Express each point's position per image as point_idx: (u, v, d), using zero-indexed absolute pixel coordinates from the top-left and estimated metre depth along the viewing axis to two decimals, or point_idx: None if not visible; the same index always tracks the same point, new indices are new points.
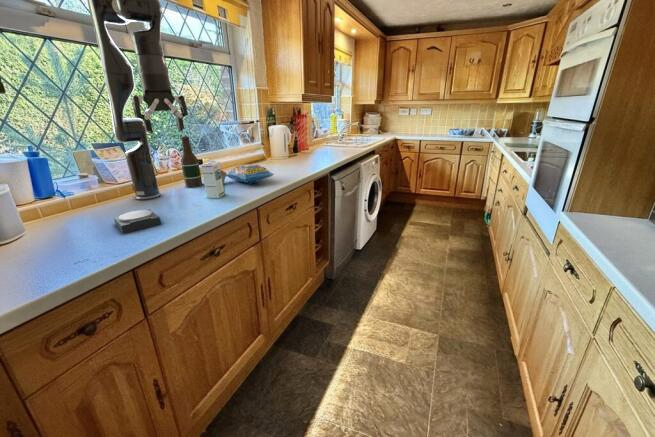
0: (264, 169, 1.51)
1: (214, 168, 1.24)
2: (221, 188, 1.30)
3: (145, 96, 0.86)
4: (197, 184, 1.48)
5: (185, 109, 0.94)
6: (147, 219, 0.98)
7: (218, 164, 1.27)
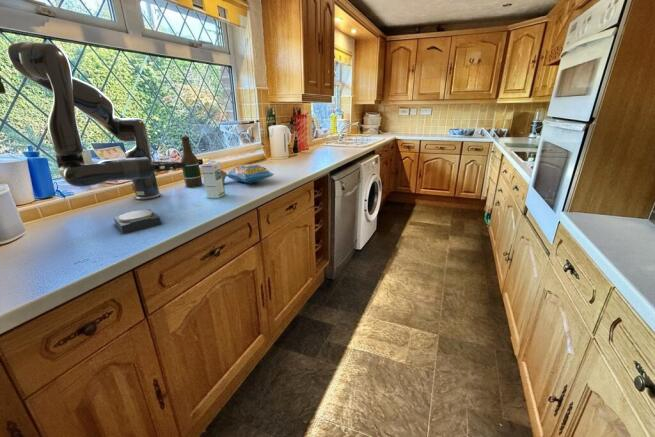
0: (264, 169, 1.51)
1: (214, 168, 1.24)
2: (221, 188, 1.30)
3: None
4: (197, 184, 1.48)
5: (171, 169, 1.10)
6: (147, 219, 0.98)
7: (218, 163, 1.27)
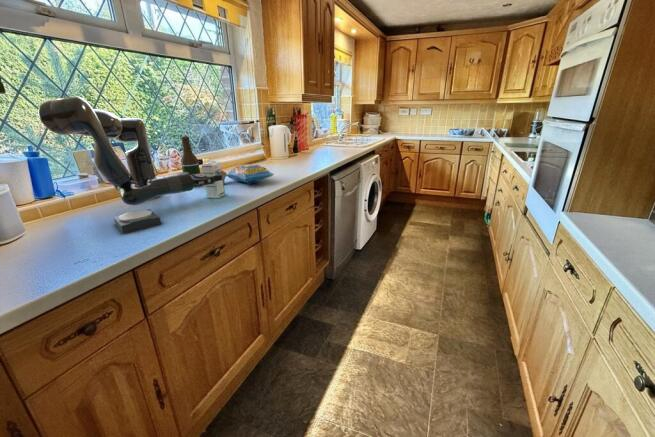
0: (264, 169, 1.51)
1: (214, 168, 1.24)
2: (221, 188, 1.30)
3: None
4: None
5: None
6: (147, 219, 0.98)
7: (219, 164, 1.27)
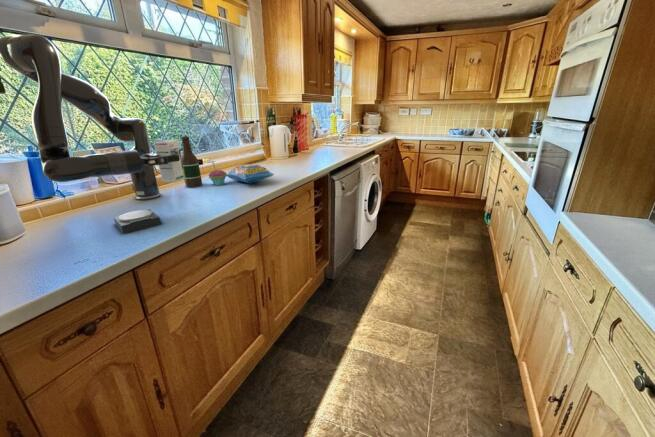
0: (264, 169, 1.51)
1: (169, 146, 1.05)
2: (179, 171, 1.10)
3: None
4: (197, 184, 1.48)
5: None
6: (147, 219, 0.98)
7: (176, 142, 1.08)
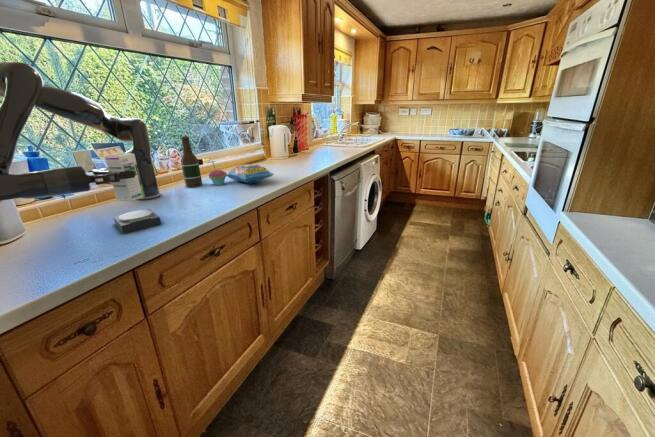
0: (264, 169, 1.51)
1: (122, 161, 0.92)
2: (136, 189, 0.97)
3: None
4: (197, 184, 1.48)
5: None
6: (147, 219, 0.98)
7: (131, 155, 0.95)
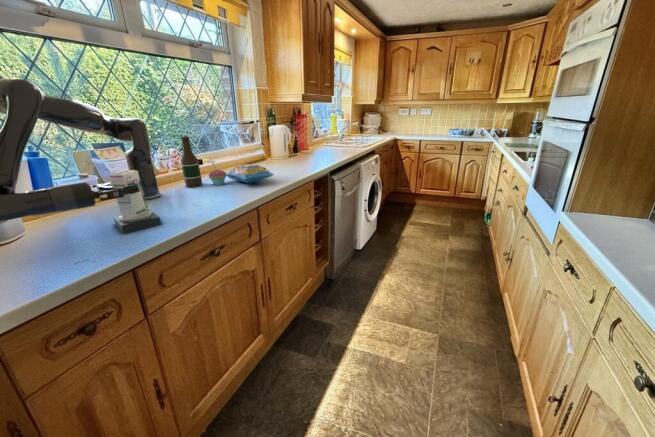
0: (264, 169, 1.51)
1: (126, 178, 0.94)
2: (140, 205, 0.99)
3: None
4: (197, 184, 1.48)
5: None
6: (147, 219, 0.98)
7: (135, 172, 0.97)
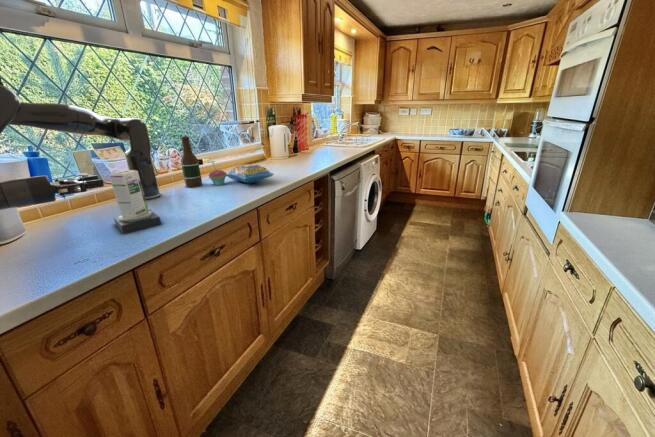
0: (264, 169, 1.51)
1: (126, 178, 0.94)
2: (140, 205, 0.99)
3: None
4: (197, 184, 1.48)
5: None
6: (147, 219, 0.98)
7: (135, 172, 0.97)
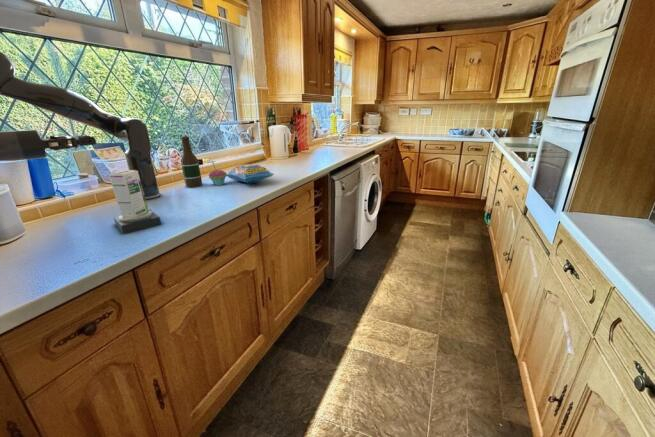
0: (264, 169, 1.51)
1: (126, 178, 0.94)
2: (140, 205, 0.99)
3: None
4: (197, 184, 1.48)
5: (69, 147, 0.82)
6: (147, 219, 0.98)
7: (135, 172, 0.97)
